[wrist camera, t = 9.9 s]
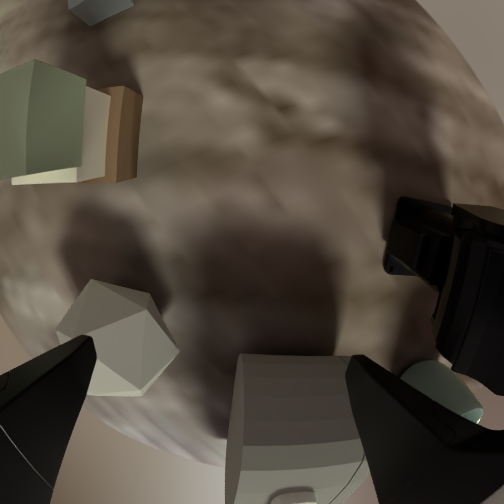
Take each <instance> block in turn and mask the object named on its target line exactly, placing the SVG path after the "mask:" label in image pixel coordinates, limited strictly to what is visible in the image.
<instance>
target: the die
mask: <svg viewBox="0 0 504 504" xmlns="http://www.w3.org/2000/svg"><path fill="white" fill-rule="evenodd" d="M56 333H57V336H58V339H59V342H60V345H61V344H63V343H65V342H67V341H69V340H71V339H73V338H75V337H77V336H79V335H82V334H83V335H88V336H91V337H92V338H93V341H94V345H95V349H96V353H97V361H96V364H95V368H94V371H93V374H92V378H91V381H90V385H89V388H88V392H87V395H98V396H142V395H143V394H144V393H145V392H146V390H147V389H148V388H149V387H150V386H151V385H152V383H153V382H154V381H155V380H156V379H157V378H158V377H159V375H160V374H161V373H162V372H163V371H164V370H165V368H166V367H167V366H168V365H169V364H170V363H171V361H172V360H173V359H174V358H175V357H176V356H177V354H178V353H179V352H180V350H179V349H178V347H177V345H176V343H175V341H174V339H173V338H172V336H171V334H170V332H169V330H168V328H167V326H166V324H165V323H164V321H163V319H162V317H161V315H160V313H159V311H158V309H157V307H156V305H155V303H154V301H153V299H152V297H151V295H150V293H146V292H142V291H138V290H133V289H129V288H125V287H121V286H117V285H113V284H109V283H105V282H102V281H98V280H94V279H90V281H89V282H88V283H87V285H86V286H85V288H84V289H83V290H82V292H81V293H80V294H79V296H78V297H77V299H76V300H75V302H74V303H73V304H72V306H71V307H70V309H69V310H68V312H67V313H66V315H65V316H64V318H63V319H62V321H61V322H60V324H59V325H58V327H57V328H56Z"/></svg>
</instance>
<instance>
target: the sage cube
mask: <svg viewBox="0 0 504 504" xmlns="http://www.w3.org/2000/svg"><path fill="white" fill-rule="evenodd" d="M86 81H87V80H86V79H84V78H82V77H79V76H77V75H74V74H72V73H70V72H67V71H65V70H62V69H60V68H57V67H55V66H52V65H49V64H47V63H44V62H41V61H39V60H36V59H34V60H32V61H29V62H27V63H24V64H22V65H19V66H17V67H15V68H12V69H10V70H8V71H6V72H4V73H2V74H0V180H2V179H7V178H13V177H19V176H26V175H31V174H36V173H42V172H48V171H54V170H60V169H67V168H74V167H81V166H82V131H83V113H84V100H85V90H86Z"/></svg>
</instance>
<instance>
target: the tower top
mask: <svg viewBox="0 0 504 504" xmlns="http://www.w3.org/2000/svg"><path fill="white" fill-rule="evenodd" d="M110 100H111V96H109V95H107V94H105V93H102V92H100V91H97V90H95V89H92V88H90V87H87V86H86V90H85V100H84V113H83V131H82V166H81V167H74V168H67V169H60V170H54V171H48V172H42V173H36V174H31V175H26V176H19V177H13V178H12V185H21V184H40V183H71V182H80V181H85V180H89V179H94V178H99V177H103V176H105V157H106V140H107V128H108V117H109V108H110Z"/></svg>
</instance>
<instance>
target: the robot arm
mask: <svg viewBox="0 0 504 504" xmlns="http://www.w3.org/2000/svg"><path fill="white" fill-rule="evenodd" d="M404 200H405V205H403V201H404ZM450 212H451V214H450ZM387 251H388V253H387V258H386V262H385V266H384V270H385V272H386V273H388V274H391V275H408V276H417V277H419V278H420V279H421V280H423V281H424V282H425V283H426V284H428V285H429V286H430V287H431V288H433V289H434V290H435V291H436V292H438V293H439V296H438V300H437V304H436V308H435V312H434V314H433V315H432V318H431V323H432V326H433V331H432V333H433V336H434V338H435V341H436V346H435V347H436V349H437V351H438V352H439V353H440V354H441V355H442V356H443V357H444V358H445V359H447V360H448V361H449V362H450V363H451V364H453V365H452V367H451V370H452V371H453V372H457V373H460V374H464V375H467V376H469V377H471V378H473V379H475V380H477V381H479V382H480V383H481V384H483V385H484V386H485V387H487V388H488V389H489V390H491V391H492V392H493V393H494V394H496V395H500V396H504V210H502V209H499V208H495V207H491V206H480V205H468V204H455V203H453V208H452V207H449V206H445V205H440V204H436V203H432V202H428V201H423V200H419V199H414V198H409V197H405V196H402V197H400V198H399V200H398V204H397V210H396V215H395V221H394V222H393V226H392V231H391V236H390V240H389V245H388V249H387ZM390 266H392V267H391V269H390V270H389V267H390ZM96 361H97V353H96V349H95V345H94V341H93V338H92V337H91V336H88V335H83V334H82V335H79V336H77V337H75V338H73V339H71V340H69V341H67V342H65V343H63V344H61V345H59V346H57V347H55V348H53V349H51V350H49V351H47V352H45V353H43V354H42V355H40V356H38V357H36V358H34V359H32V360H30V361H28V362H26V363H24V364H22V365H20V366H18V367H16V368H14V369H12V370H10V372H9V371H8V372H6V373H4V374H2V375H0V504H50V501H51V497H52V493H53V489H54V486H55V483H56V479H57V476H58V473H59V469H60V466H61V463H62V460H63V457H64V454H65V451H66V448H67V445H68V442H69V440H70V437H71V434H72V431H73V428H74V426H75V423H76V420H77V418H78V415H79V413H80V410H81V408H82V405H83V403H84V400H85V397H86V395H87V392H88V388H89V385H90V381H91V378H92V374H93V371H94V368H95V364H96ZM345 380H346V385H347V390H348V395H349V400H350V405H351V410H352V414H353V418H354V421H355V424H356V427H357V430H358V433H359V437H360V440H361V443H362V446H363V450H364V453H365V456H366V460H367V463H368V466H369V470H370V473H371V476H372V480H373V484H374V487H375V491H376V494H377V498H378V502H379V504H504V430H491V429H487V428H485V427H482V426H481V425H478V424H476V423H474V422H472V421H470V420H468V419H466V418H464V417H462V416H460V415H458V414H457V413H455V412H453V411H451V410H449V409H448V408H446V407H444V406H443V405H441V404H439V403H438V402H436V401H435V400H433V399H431V398H430V397H428V396H427V395H425V394H423V393H422V392H420V391H419V390H417V389H416V388H414V387H412V386H411V385H409V384H408V383H406V382H405V381H403V380H402V379H400V378H398V377H397V376H395V375H394V374H392V373H391V372H389V371H388V370H386V369H385V368H383V367H382V366H380V365H378V364H377V363H375V362H374V361H372V360H371V359H369V358H368V357H366V356H365V355H362V354H361V355H353V356H352V357H351V359H350V361H349V364H348V367H347V369H346V372H345Z"/></svg>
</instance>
